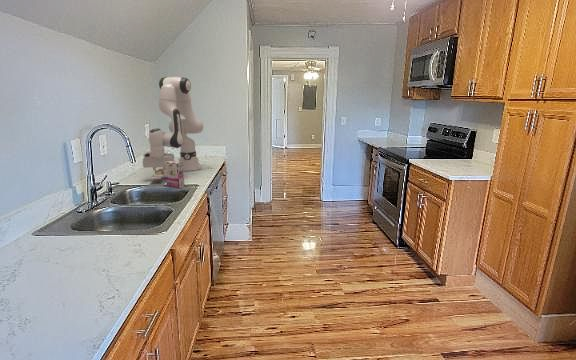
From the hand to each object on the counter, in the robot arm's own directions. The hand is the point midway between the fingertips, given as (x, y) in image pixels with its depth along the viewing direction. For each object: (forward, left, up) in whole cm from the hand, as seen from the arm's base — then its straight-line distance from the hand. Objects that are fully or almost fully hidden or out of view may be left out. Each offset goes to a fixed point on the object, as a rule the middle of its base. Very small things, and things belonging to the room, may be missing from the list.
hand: (160, 173), depth 225 cm
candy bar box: (+18, +13, -5) cm, 23 cm away
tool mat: (+4, 0, -5) cm, 7 cm away
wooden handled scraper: (+3, 0, -1) cm, 3 cm away
